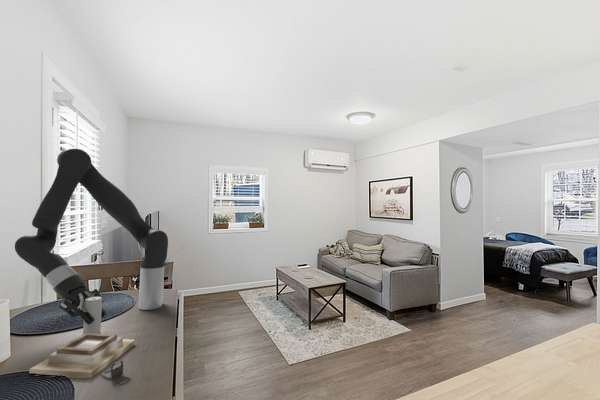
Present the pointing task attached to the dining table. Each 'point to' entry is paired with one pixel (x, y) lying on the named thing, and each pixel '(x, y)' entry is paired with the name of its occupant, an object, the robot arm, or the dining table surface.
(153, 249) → the robot arm
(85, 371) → the stand
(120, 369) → the strap clip
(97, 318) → the beverage can
